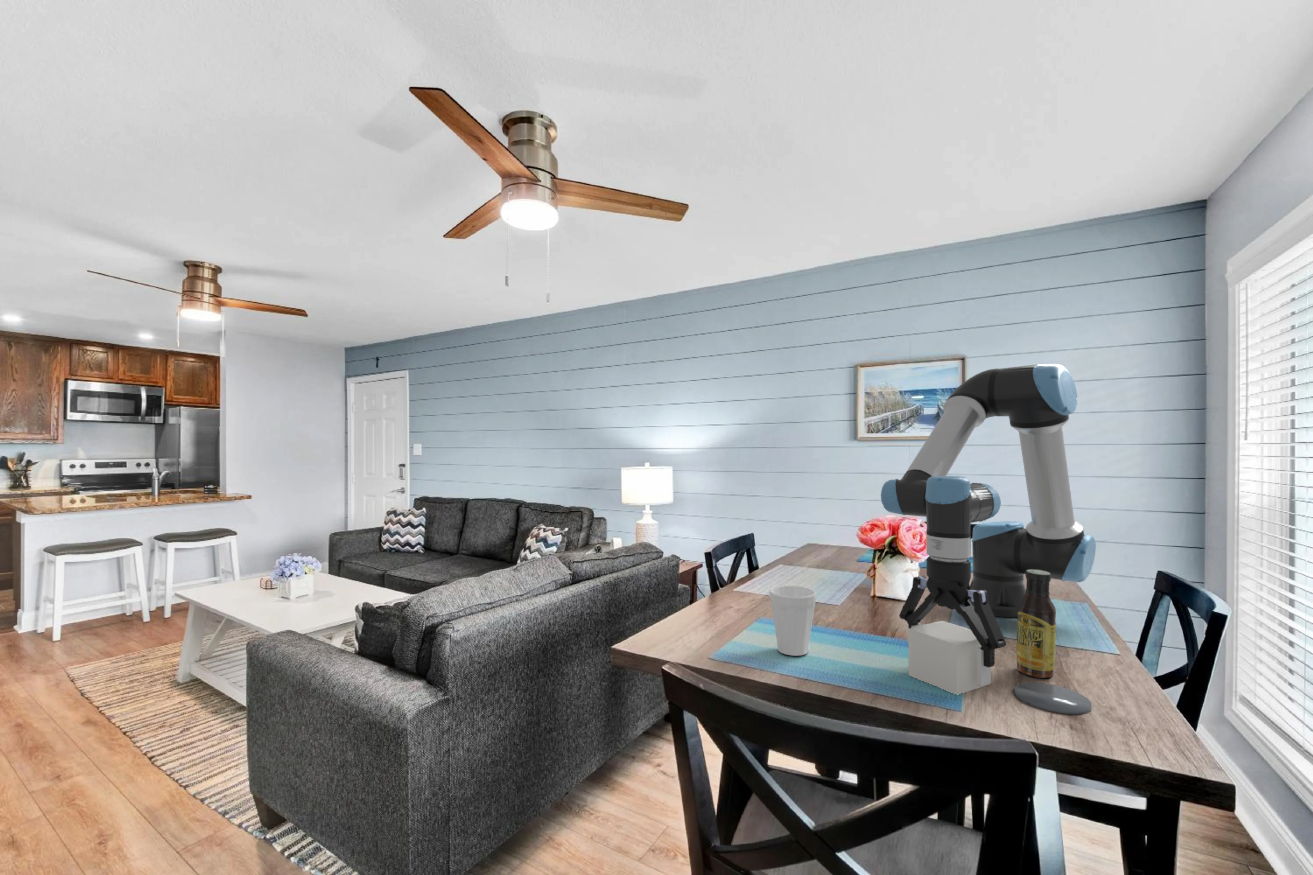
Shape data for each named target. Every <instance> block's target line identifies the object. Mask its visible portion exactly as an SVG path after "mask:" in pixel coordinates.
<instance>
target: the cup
mask: <svg viewBox="0 0 1313 875" xmlns="http://www.w3.org/2000/svg"><path fill="white" fill-rule="evenodd" d="M768 593H769V600H770V603H771V604H770V605H771V611H772V617H773V624H774V632H775V637H776V644H777V651H778V652H780V653H781V654H784V655H787V656H793V657H794V656H804V655H806V654H808V652H809V648H810V640H811V632H812V626H813V619H814V613H815V606H816V602H817V592H816V591H815V590H814V589H813V588H810V587H805V586H801V585H800V586H799V585H788V584H787V585H777V586H774V587H771V588H770V589H769V590H768Z"/></svg>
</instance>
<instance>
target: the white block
mask: <svg viewBox="0 0 1313 875" xmlns="http://www.w3.org/2000/svg"><path fill="white" fill-rule="evenodd" d="M907 631H908V638H907V639H908V642H907V643H908V676H909V677H912V678H914V679H916V678H917V679H916V680H919V681H921V682H923V681H924V683H926V682H927V683H926V684H928V683H929V685H931V684H932V685H931V686H933V685H935V686H937V687H936V688H938V687H940V688H941V689H940V688H939V689H940V690H943V689H944V690H943V691H945V690H947V691H948V693H950V692H952V693H954V694H953V695H955V694H957V695H956V696H959V695H958V694H960V695H962V694H961V693H963V694H966V693H968V692H972V691H974V690H977V689H981V688H983V687H986V686H989V685H992V681H991V682H990V683H987V684H984V685H979V684H977V647H981V645H980V643H979V642H978V640H977V639H976V637H975V635H974V634H973V632H972V631H971V629H970V628H969V627H968V628H967V627H964V626H961V625H957V624H954V623H952V622H951V623H950V622H947V621H945V620H939V621H935V622H930V623H926V624H922V626H917V627H913V628H908V630H907ZM935 686H934V687H935ZM947 691H946V692H947ZM965 692H966V693H965ZM952 693H951V694H952Z"/></svg>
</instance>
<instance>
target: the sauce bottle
mask: <svg viewBox="0 0 1313 875" xmlns="http://www.w3.org/2000/svg"><path fill="white" fill-rule="evenodd" d="M1025 578H1026V586H1025V588H1026V593H1025V596H1024V598H1023V601H1022V604H1021V606H1020V609H1019V611H1018V617H1017V624H1016V627H1017V628H1016V629H1017V630H1016V657H1015V658H1016V659H1015V660H1016V664H1017V665H1016V668H1017V670H1018V671H1019V672H1020V673H1022V674H1024V675H1026V676H1031V677H1033V678H1038V679H1046V678H1052V677H1053V675H1054V672H1055V671H1054V670H1055V667H1056V639H1057V638H1056V633H1057V623H1056V622H1057V621H1056V615H1057V610H1056V606H1055V605H1054V603H1053V602H1052V600H1051V598H1050V594H1051V592H1050V582H1051V574H1050V573H1049V572H1046V571H1042V570H1032V569H1030V570H1026V574H1025Z"/></svg>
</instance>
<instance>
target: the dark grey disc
mask: <svg viewBox="0 0 1313 875" xmlns="http://www.w3.org/2000/svg"><path fill="white" fill-rule="evenodd" d="M1014 694H1015V696H1016V697H1017V698H1018V699H1019V700H1021V701H1022V702H1024V703H1025V704H1027V705H1030V706H1032V707H1035V708H1038V709H1040V710H1044V711H1047V712H1051V713H1056V714H1057V713H1058V714H1063V715H1064V714H1065V715H1084V714H1087V713H1089V712H1091V710H1092V701H1091V700H1090V699H1089V698H1088V697H1087V696H1086V695H1084V694H1083V693H1082V694H1081V693H1079V692H1077V691H1075V690H1073V689H1070V688H1067V687H1064V686H1060V685H1056V684H1052V683H1051V684H1050V683H1042V682H1023V683H1019V684H1017V685H1016V686H1015V688H1014Z"/></svg>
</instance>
